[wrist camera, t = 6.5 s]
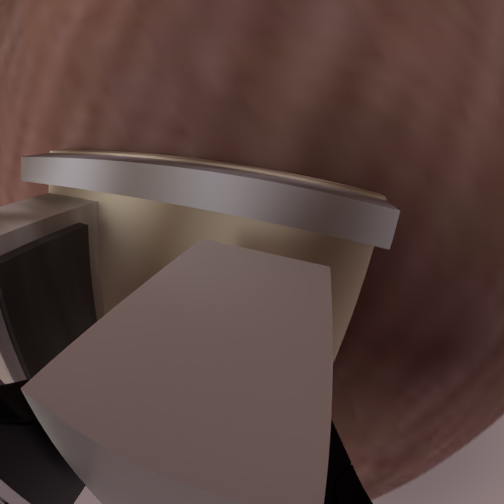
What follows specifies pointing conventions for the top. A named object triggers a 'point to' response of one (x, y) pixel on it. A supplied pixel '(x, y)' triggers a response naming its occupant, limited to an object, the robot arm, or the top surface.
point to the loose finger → (201, 385)
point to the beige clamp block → (161, 237)
